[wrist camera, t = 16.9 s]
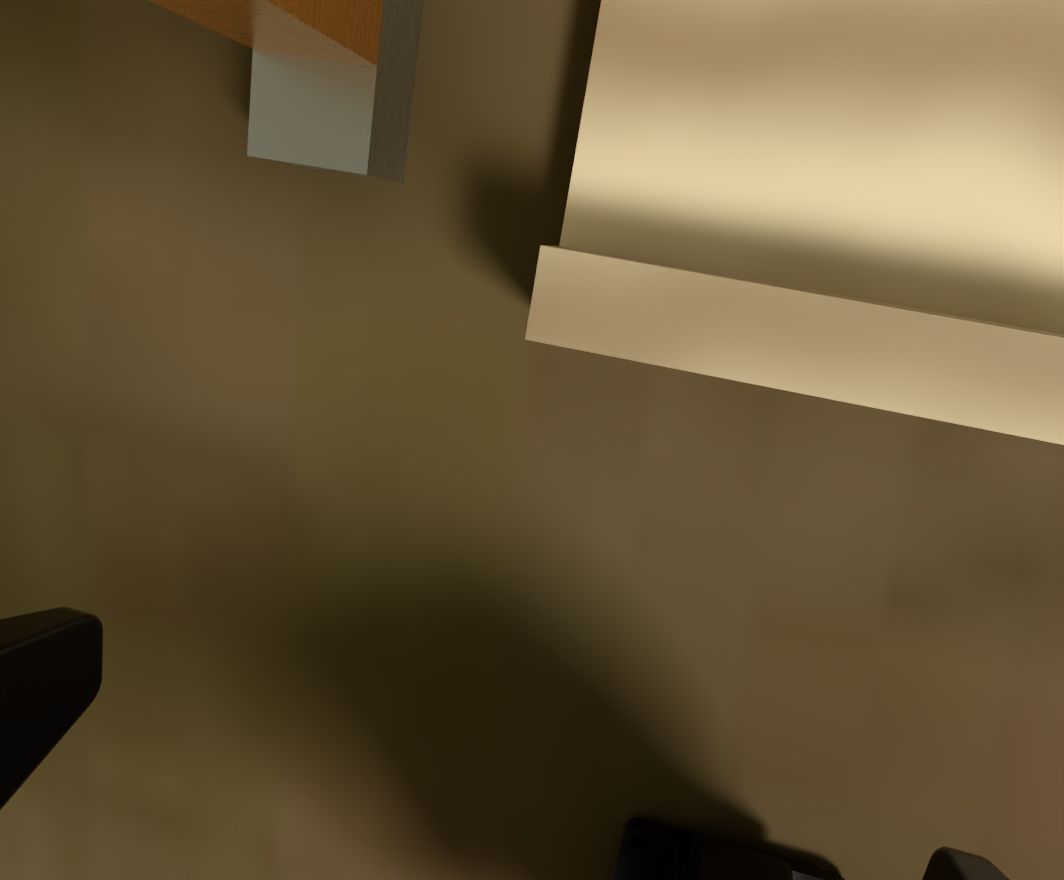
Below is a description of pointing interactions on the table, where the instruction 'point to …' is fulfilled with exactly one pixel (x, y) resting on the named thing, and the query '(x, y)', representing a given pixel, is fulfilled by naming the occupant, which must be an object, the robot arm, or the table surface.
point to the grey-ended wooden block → (324, 78)
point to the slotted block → (825, 203)
